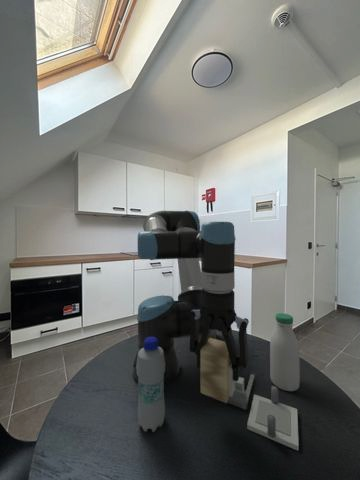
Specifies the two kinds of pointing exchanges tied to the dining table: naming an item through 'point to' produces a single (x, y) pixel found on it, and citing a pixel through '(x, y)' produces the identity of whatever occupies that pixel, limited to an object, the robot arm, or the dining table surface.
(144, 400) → the bottle
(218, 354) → the block
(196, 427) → the dining table surface
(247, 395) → the housing frame
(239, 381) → the cover
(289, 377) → the milk bottle
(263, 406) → the seat plate
